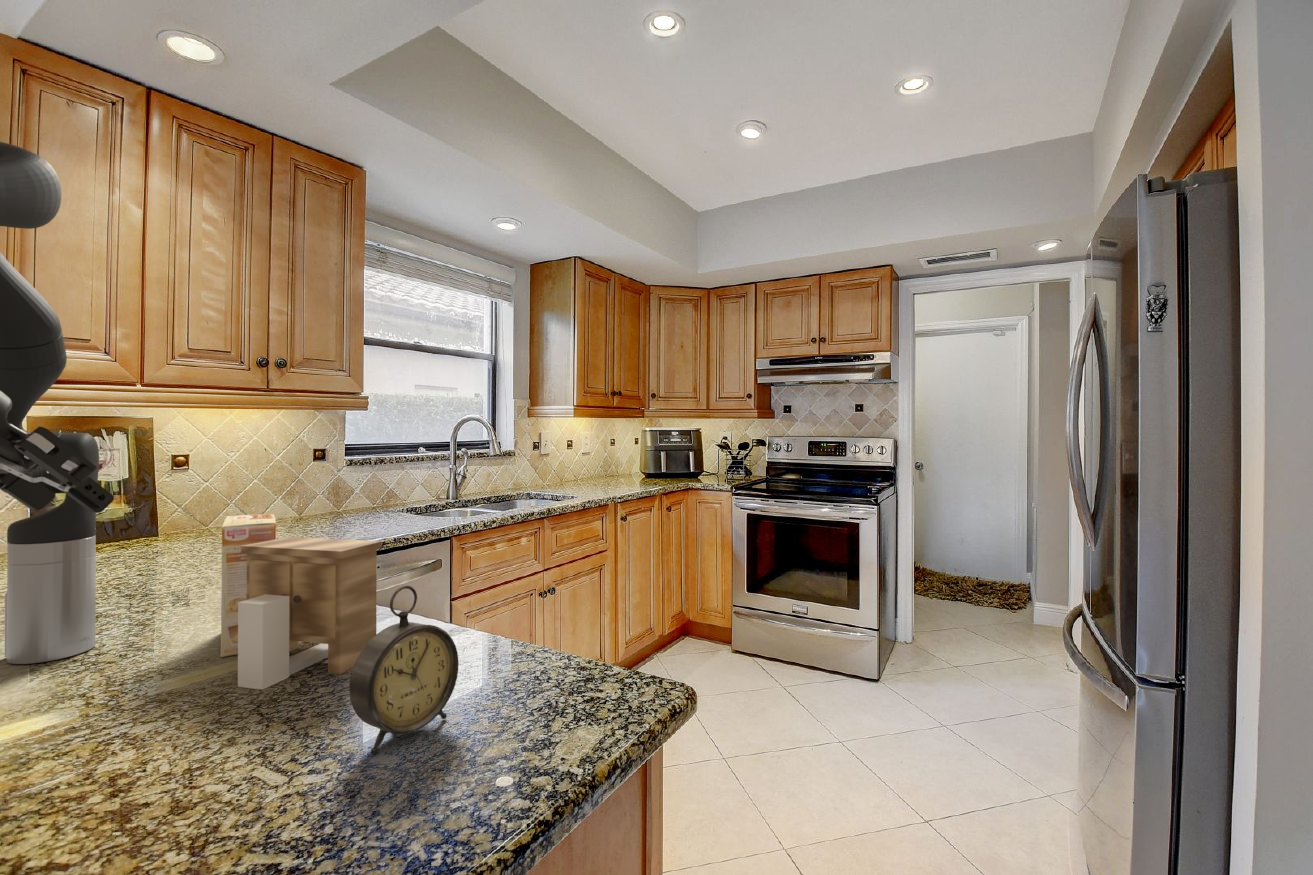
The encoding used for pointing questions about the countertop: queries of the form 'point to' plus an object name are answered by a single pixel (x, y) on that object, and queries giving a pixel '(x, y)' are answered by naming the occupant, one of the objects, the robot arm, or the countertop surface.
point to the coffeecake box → (238, 569)
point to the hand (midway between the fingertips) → (74, 504)
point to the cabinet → (320, 591)
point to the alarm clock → (403, 676)
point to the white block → (269, 643)
